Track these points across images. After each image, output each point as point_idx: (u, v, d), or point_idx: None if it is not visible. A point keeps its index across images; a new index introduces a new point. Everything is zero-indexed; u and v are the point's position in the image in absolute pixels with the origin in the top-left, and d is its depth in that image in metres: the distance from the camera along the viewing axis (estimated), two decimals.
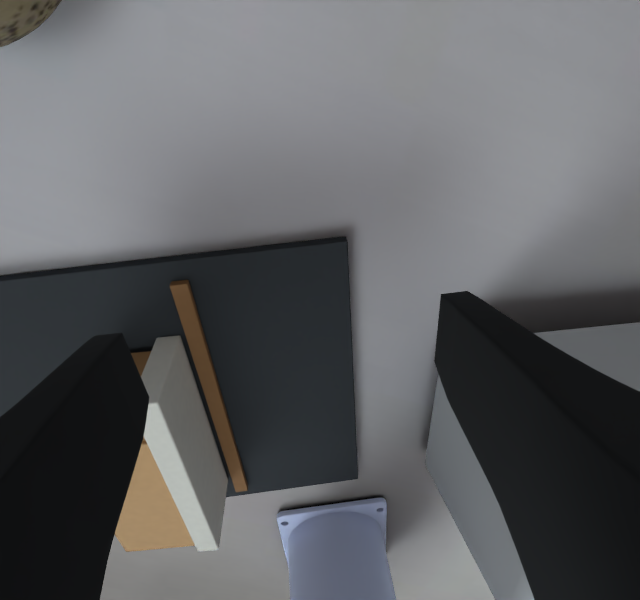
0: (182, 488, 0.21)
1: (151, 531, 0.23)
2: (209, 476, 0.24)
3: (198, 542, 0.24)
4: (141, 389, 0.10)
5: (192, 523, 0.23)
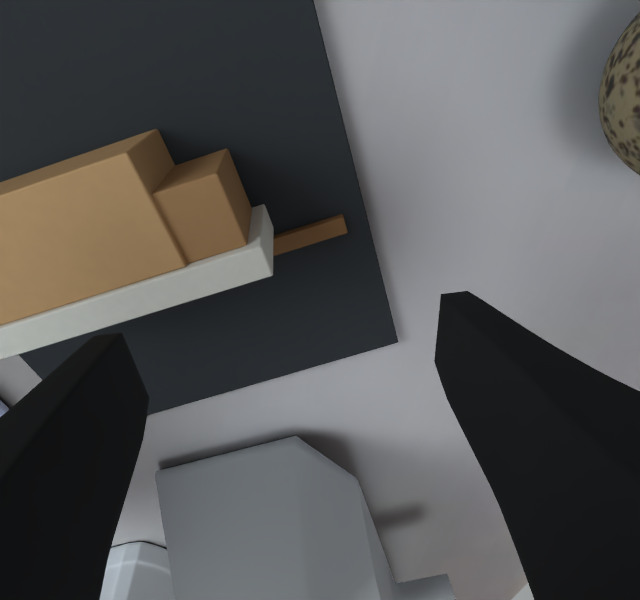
0: (109, 313, 0.15)
1: None
2: None
3: None
4: (141, 389, 0.10)
5: (24, 333, 0.15)
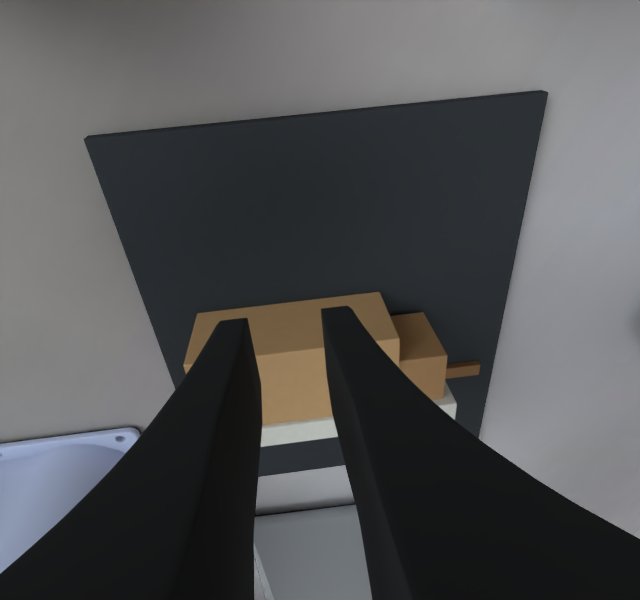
0: (331, 430, 0.20)
1: None
2: None
3: None
4: (258, 374, 0.10)
5: (263, 435, 0.20)
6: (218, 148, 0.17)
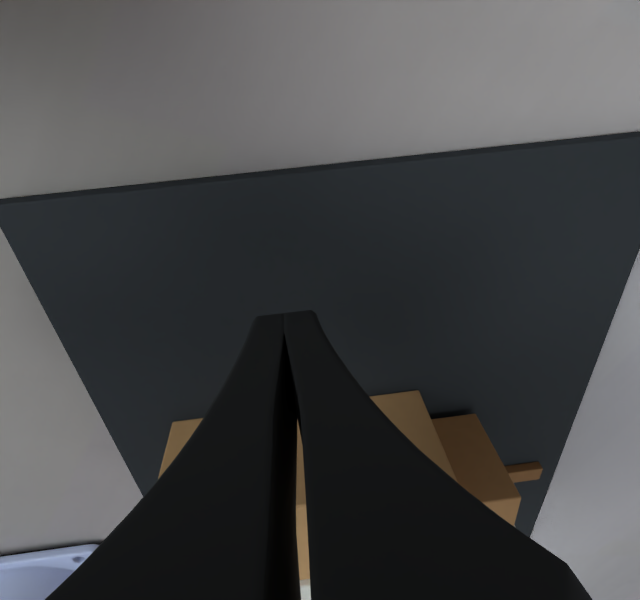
0: None
1: None
2: None
3: None
4: None
5: None
6: (195, 216, 0.11)
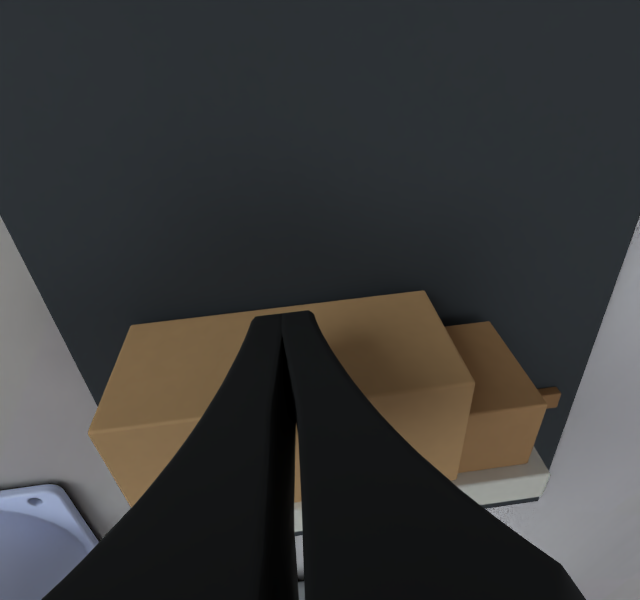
0: None
1: None
2: None
3: None
4: None
5: None
6: (146, 15, 0.09)
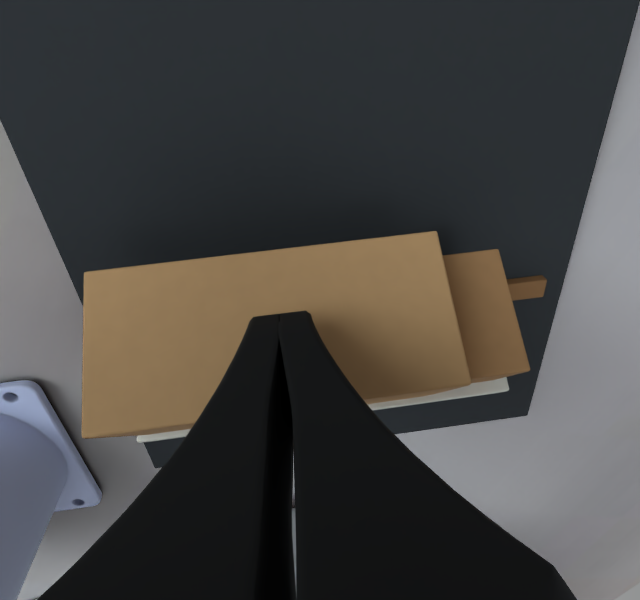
0: None
1: None
2: None
3: (171, 438, 0.14)
4: None
5: None
6: None
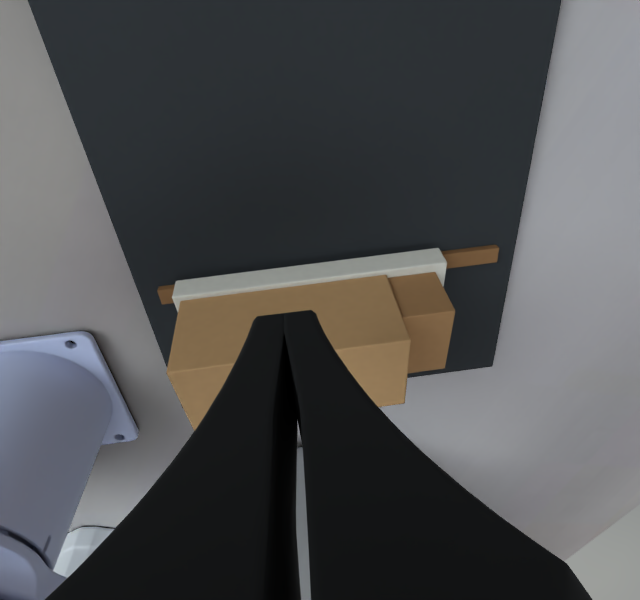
0: None
1: None
2: None
3: None
4: None
5: None
6: None
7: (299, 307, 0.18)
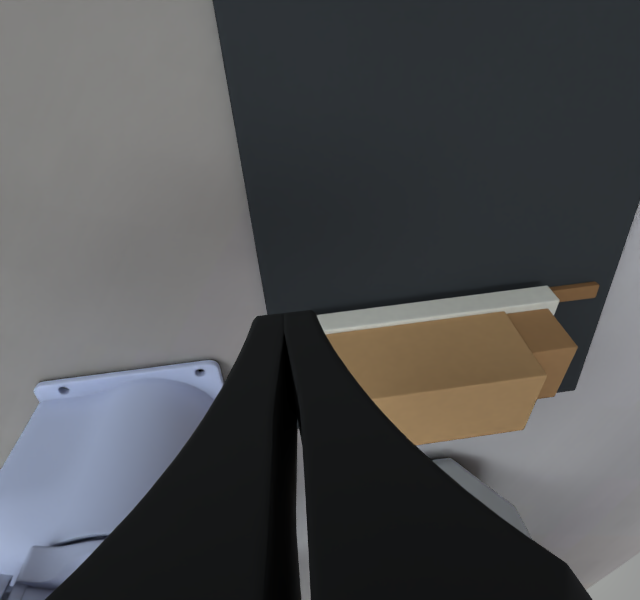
0: None
1: None
2: None
3: None
4: None
5: None
6: None
7: (433, 342, 0.19)
